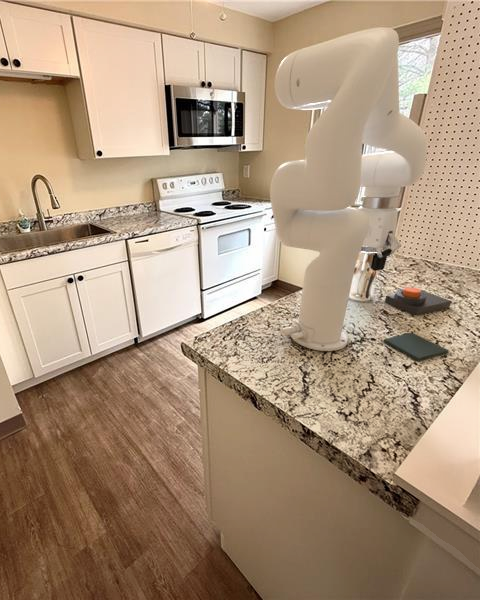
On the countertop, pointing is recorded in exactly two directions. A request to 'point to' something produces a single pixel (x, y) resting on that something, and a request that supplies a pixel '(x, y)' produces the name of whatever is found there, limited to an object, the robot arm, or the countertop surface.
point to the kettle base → (418, 302)
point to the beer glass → (363, 275)
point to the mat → (415, 346)
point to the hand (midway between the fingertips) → (365, 265)
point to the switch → (411, 292)
